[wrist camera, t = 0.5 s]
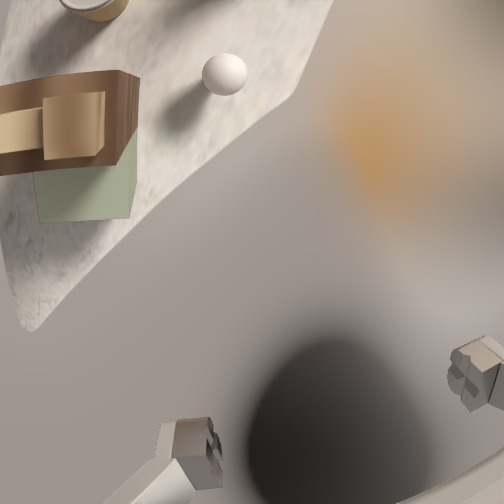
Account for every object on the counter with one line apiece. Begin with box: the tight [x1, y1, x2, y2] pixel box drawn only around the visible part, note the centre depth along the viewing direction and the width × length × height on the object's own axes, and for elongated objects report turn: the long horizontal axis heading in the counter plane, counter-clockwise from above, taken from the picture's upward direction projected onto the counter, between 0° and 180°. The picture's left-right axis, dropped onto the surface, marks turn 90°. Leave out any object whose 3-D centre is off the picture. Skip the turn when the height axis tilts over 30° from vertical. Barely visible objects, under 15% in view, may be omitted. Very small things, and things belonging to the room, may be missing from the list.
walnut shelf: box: [0, 70, 140, 176], centre depth 32 cm, size 12×8×26 cm, turn 84°
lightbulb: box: [202, 53, 248, 96], centre depth 41 cm, size 6×6×11 cm
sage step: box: [33, 129, 137, 223], centre depth 40 cm, size 12×9×16 cm
